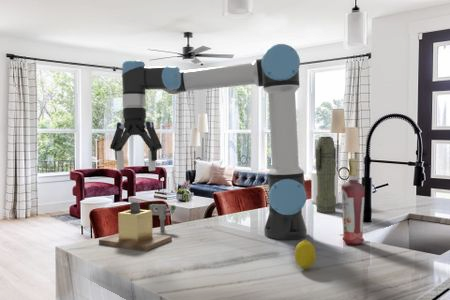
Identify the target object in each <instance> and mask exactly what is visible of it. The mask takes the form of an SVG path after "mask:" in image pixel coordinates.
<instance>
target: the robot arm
mask: <svg viewBox="0 0 450 300" xmlns="http://www.w3.org/2000/svg"><path fill="white" fill-rule="evenodd" d="M300 66H301V60H300V56H299V54H298V52H297V50H296V49H295V48H293V46H291V45H289V44H286V43H285V44H284V43H277V44H274V45H271V46H270V47H269V48H268V49H266V51H265V52H264V54H263V55H262V56H261V58H257V59H255V60H254V61H253V62H247V63H239V64H233V65H224V66H216V67H215V66H214V67H206V68H197V69H188V70H180V68H179V67H178V66H176V65H175V66H173V65H172V66H171V65H165V66H146V64H145V62H144V61H142V60H133V59H132V60H126V61H124V62H123V63H122V70H121V71H122V72H121V78H122V79H121V80H122V81H121V83H122V107H124V108H123V109H122V117H123V119H124V121H122V122H119V121H118V122H117V123H116V129H115V131H114V132H115V133H114V135H113V138H112V140H111V143H110V146H109V148H110V149H111V150H114V155H115V161H116V170H117V171H121V170H122V171H123V170H125V164H124V163H125V162H124V161H125V160H124V155H125V154H124V150H123V148H124V146H125V145H126V143H127V142H128V140H129V139H130V137H131V136H140V138H141V139H142V140H143V142H144V143H145V145H146V146H147V147H148V149H149V150H148V154H147V155H148V160H147V161H148V171H149V172H152V171H156V161H157V160H158V154H157V153H158V150H162V149H163V145H162V143H161V140H160V138H159V137H158V134H157V132H156V129H155V126H154V121H151V120H149V121H148V120H147V121H146V118H147V110H146V108H145V107H146V104H147V103H146V90H148V91H149V90H161V91H164V92H166V93H167V94H171V95H176V94H177V95H178V94H179V93H185V92H192V91H201V90H202V91H203V90H212V89H221V88H222V89H223V88H230V87H232V88H233V87H241V86H242V87H243V86H250V85H255V86H257V88H258V87H263V88H262V89H263V91H265V92H266V93H267V94H268V109H269V110H268V112H269V114H268V115H269V129H270V133H269V134H270V149H271V151H270V152H271V168H270V170H269V171H268V172H267V180H268V181H267V183H268V197H267V198H268V208H269V209H268V216H267V219H266V222H265V226H264V236H265V237H268V238H270V239H275V240H276V239H277V240H286V241H287V240H298V239H299V240H300V239H304V238H305V237H307V235H308V229H307V226H306V222H305V220H304V217H303V213H302V210H303V208H304V206H305V204H306V203H307V191H306V188H305V172H304V170H303V169H302V168H301V167H300V165H299V164H300V163H299V144H298V143H299V142H298V129H297V127H298V125H297V124H298V123H297V122H298V121H297V105H296V104H297V103H296V92H297V91H298V89H299V88H300V70H299V69H300ZM145 128H146V129H145Z"/></svg>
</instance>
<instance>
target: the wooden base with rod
mask: <svg viewBox="0 0 450 300" xmlns="http://www.w3.org/2000/svg"><path fill="white" fill-rule="evenodd" d="M129 205H130V206H129V208H130V209H129V210H130V213H134V214H137V213H140V210H141V205H140V203H139V201H132V202H131V203H130V204H129ZM172 237H173V236H171V235H163V234H156V233H152V237H150V238H147V239H144V240H142V241H139V242H134V241H127V240H119V232H118V233H115V234H112V235H109V236H106V237H103V238H99V239H98V244H99V245H101V246H103V245H104V246H109V247H110V246H111V247H116V248H124V249H130V250H137V251H141V252H142V251H143V252H148V251H150V250H153V249H155V248H157V247H160V246H162V245H165V244H167V243H170V242H172V239H173V238H172Z"/></svg>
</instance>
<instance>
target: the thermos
mask: <svg viewBox="0 0 450 300" xmlns="http://www.w3.org/2000/svg"><path fill="white" fill-rule="evenodd" d="M315 158H316V174H317V197H316V204H315V207H316V212H317V213H319V214H335V213H336V207H337V204H336V197H335V174H336V170H337V167H336V162H337V159H336V158H337V149H336V147H335V141H334V139H333V137H331V136H320V137H319V138H318V141H317V147H316V148H315Z"/></svg>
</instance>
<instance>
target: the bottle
mask: <svg viewBox="0 0 450 300" xmlns="http://www.w3.org/2000/svg"><path fill="white" fill-rule="evenodd" d="M311 166H312V168H313V170H312V171H311V173H310V174H311V200H310V201H311V203H312V204H313V205H316V197H317V174H316V157H314V159H313V161H312V164H311ZM338 166H339V165H338V162H337V161H336V168H337V167H338ZM335 197H336V205H338V204H339V201H340V200H339V171H338V170H337V169H336V174H335Z"/></svg>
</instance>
